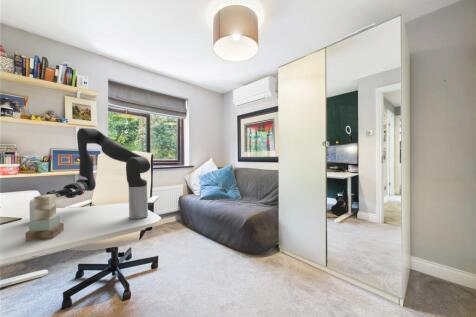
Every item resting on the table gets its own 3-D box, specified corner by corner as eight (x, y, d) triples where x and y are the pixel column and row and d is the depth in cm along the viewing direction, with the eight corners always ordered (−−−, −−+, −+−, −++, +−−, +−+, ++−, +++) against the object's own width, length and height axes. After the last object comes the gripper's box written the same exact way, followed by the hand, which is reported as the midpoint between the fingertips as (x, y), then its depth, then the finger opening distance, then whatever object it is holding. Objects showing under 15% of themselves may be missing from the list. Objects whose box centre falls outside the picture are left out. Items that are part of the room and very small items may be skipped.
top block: (59, 224, 92) (59, 215, 92) (49, 230, 85) (49, 220, 85) (41, 225, 90) (41, 216, 90) (29, 231, 84) (29, 221, 84)
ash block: (56, 216, 91) (55, 194, 91) (49, 219, 86) (49, 196, 86) (42, 217, 89) (41, 194, 89) (35, 220, 85) (34, 197, 84)
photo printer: (57, 217, 112) (56, 195, 112) (55, 219, 109) (54, 196, 108) (31, 220, 107) (30, 197, 106) (28, 223, 103) (27, 199, 103)
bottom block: (63, 231, 94) (63, 222, 94) (53, 239, 85) (52, 230, 85) (39, 234, 91) (38, 225, 91) (25, 242, 82) (25, 232, 82)
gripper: (58, 183, 111) (40, 189, 96) (88, 182, 116) (76, 187, 100) (58, 197, 111) (40, 204, 96) (89, 195, 116) (77, 202, 101)
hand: (59, 195), depth 98 cm, fingers open, 8 cm apart
